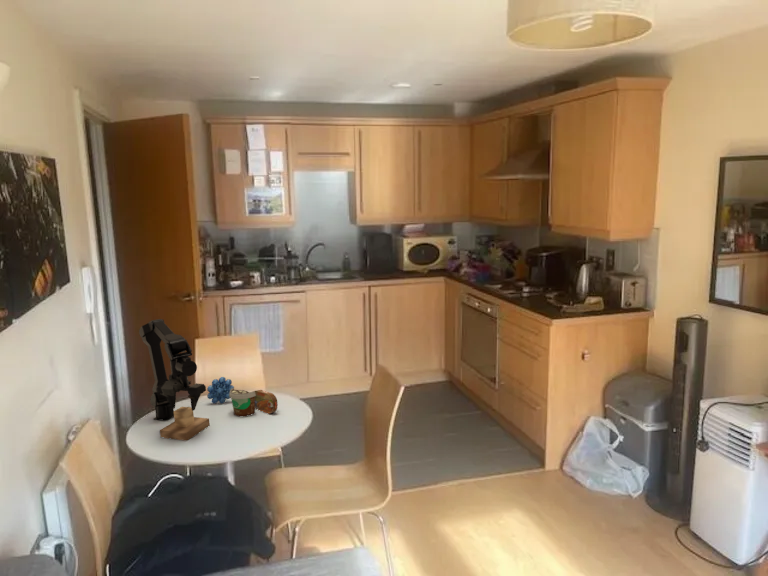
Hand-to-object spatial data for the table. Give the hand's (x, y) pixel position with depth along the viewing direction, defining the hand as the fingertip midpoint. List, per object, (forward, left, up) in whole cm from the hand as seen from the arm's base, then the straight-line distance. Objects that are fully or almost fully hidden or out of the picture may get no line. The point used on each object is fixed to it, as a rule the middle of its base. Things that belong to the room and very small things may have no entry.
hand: (183, 409), depth 222 cm
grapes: (-4, +30, -9) cm, 32 cm away
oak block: (0, 0, -6) cm, 6 cm away
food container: (+12, +20, -9) cm, 25 cm away
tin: (+20, +26, -9) cm, 34 cm away
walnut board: (0, 0, -9) cm, 9 cm away
